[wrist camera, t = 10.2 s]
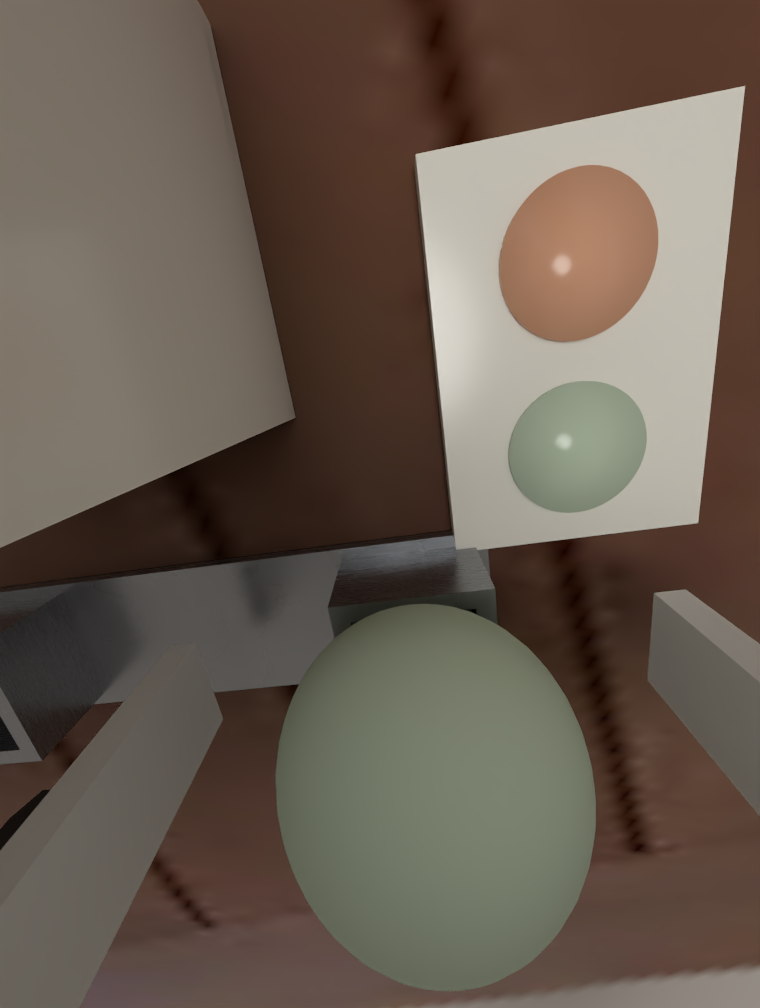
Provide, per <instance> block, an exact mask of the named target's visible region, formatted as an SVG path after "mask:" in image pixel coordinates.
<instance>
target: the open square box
mask: <svg viewBox="0 0 760 1008" xmlns="http://www.w3.org/2000/svg"><path fill="white" fill-rule="evenodd" d="M294 418H296V417H295V412H294V408H293V403H292V399H291V394H290V389H289V385H288V380H287V375H286V371H285V366H284V362H283V357H282V352H281V348H280V343H279V339H278V334H277V329H276V325H275V320H274V316H273V311H272V306H271V302H270V297H269V293H268V288H267V283H266V279H265V274H264V270H263V265H262V260H261V256H260V251H259V247H258V242H257V237H256V233H255V228H254V223H253V219H252V214H251V210H250V205H249V200H248V196H247V191H246V187H245V182H244V177H243V173H242V168H241V164H240V159H239V154H238V150H237V145H236V141H235V136H234V131H233V127H232V122H231V118H230V113H229V108H228V104H227V99H226V95H225V90H224V85H223V81H222V76H221V71H220V67H219V62H218V58H217V53H216V48H215V44H214V39H213V35H212V30H211V25H210V23H209V21H208V19H207V17H206V15H205V13H204V11H203V10H202V8H201V6H200V4H199V2H198V0H0V548H1V547H3V546H5V545H8V544H10V543H12V542H14V541H17V540H19V539H21V538H24V537H26V536H28V535H30V534H33V533H35V532H37V531H39V530H42V529H44V528H46V527H49V526H51V525H53V524H55V523H58V522H60V521H62V520H64V519H67V518H69V517H71V516H74V515H76V514H78V513H80V512H83V511H85V510H87V509H89V508H92V507H94V506H96V505H98V504H101V503H103V502H105V501H108V500H110V499H112V498H114V497H117V496H119V495H121V494H123V493H126V492H128V491H130V490H133V489H135V488H137V487H139V486H142V485H144V484H146V483H148V482H151V481H153V480H155V479H158V478H160V477H162V476H164V475H167V474H169V473H171V472H173V471H176V470H178V469H180V468H182V467H185V466H187V465H189V464H192V463H194V462H196V461H198V460H201V459H203V458H205V457H207V456H210V455H212V454H214V453H217V452H219V451H221V450H223V449H226V448H228V447H230V446H232V445H235V444H237V443H239V442H242V441H244V440H246V439H248V438H251V437H253V436H255V435H257V434H260V433H262V432H264V431H266V430H269V429H271V428H273V427H276V426H278V425H280V424H282V423H285V422H287V421H289V420H291V419H294Z"/></svg>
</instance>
